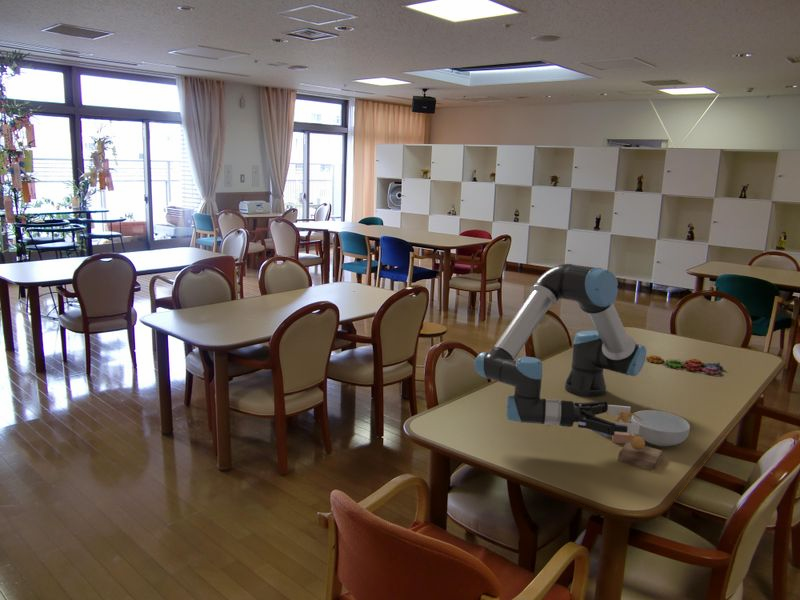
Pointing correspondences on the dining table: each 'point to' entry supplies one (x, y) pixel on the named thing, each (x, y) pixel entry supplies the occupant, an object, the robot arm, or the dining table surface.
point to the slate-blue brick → (603, 434)
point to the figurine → (636, 441)
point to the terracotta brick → (621, 437)
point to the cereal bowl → (661, 427)
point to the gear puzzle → (689, 365)
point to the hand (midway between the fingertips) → (634, 420)
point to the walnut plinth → (640, 456)
